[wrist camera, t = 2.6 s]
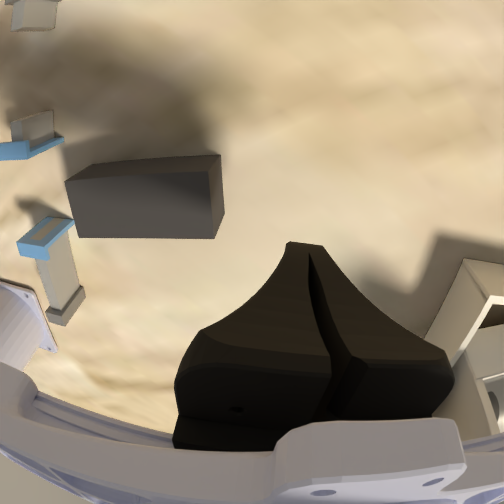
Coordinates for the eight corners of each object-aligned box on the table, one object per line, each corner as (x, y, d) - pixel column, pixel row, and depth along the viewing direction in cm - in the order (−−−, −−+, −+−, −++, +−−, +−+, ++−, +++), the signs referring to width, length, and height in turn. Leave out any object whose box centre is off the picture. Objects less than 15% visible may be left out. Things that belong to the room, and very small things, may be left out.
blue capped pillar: (65, 292, 23) (43, 321, 20) (38, -5, 11) (0, -8, 8) (91, 298, 23) (69, 329, 20) (69, -15, 11) (31, -23, 8)
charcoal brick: (104, 213, 19) (78, 237, 16) (93, 163, 17) (64, 181, 15) (225, 211, 18) (214, 239, 16) (221, 153, 17) (208, 171, 14)
